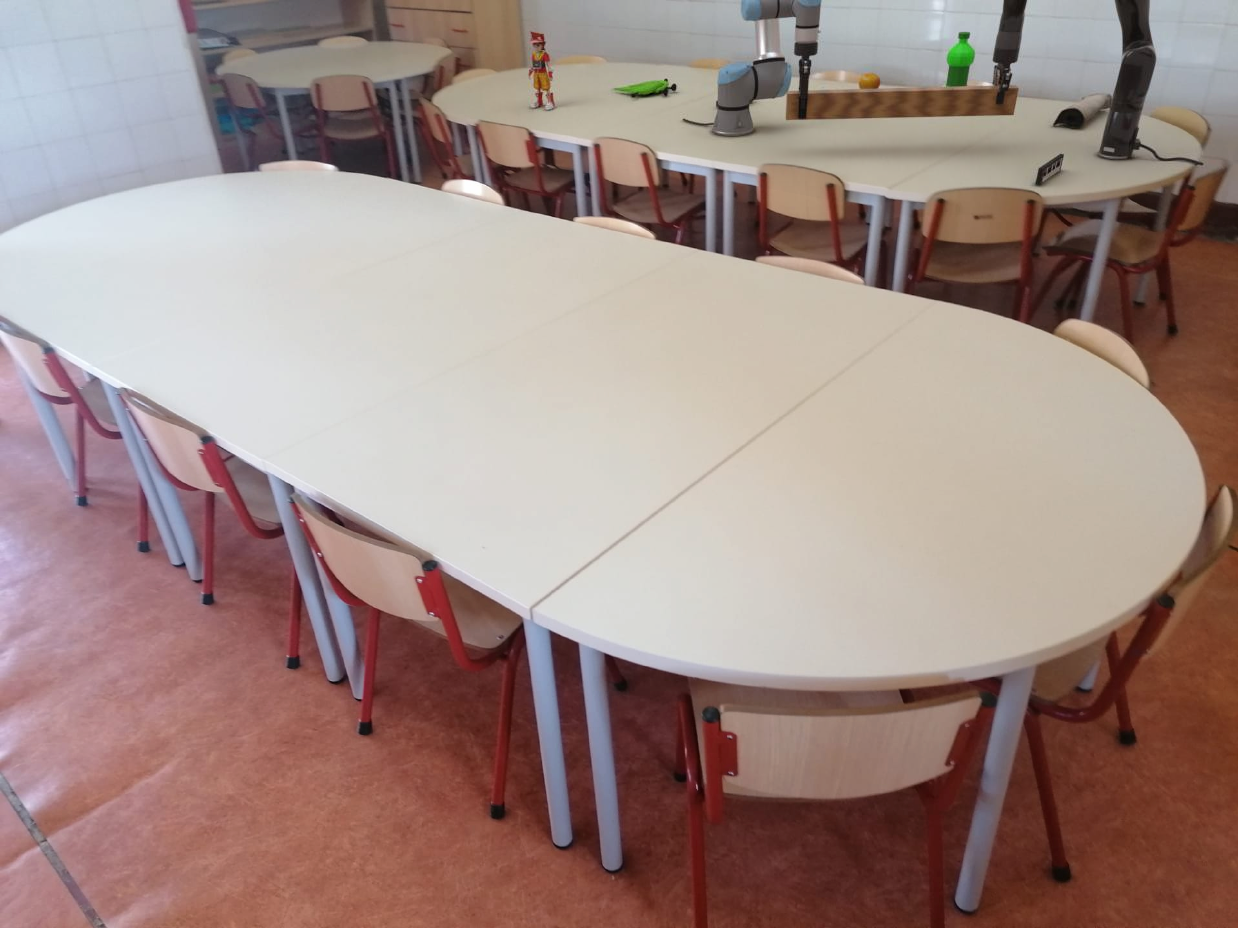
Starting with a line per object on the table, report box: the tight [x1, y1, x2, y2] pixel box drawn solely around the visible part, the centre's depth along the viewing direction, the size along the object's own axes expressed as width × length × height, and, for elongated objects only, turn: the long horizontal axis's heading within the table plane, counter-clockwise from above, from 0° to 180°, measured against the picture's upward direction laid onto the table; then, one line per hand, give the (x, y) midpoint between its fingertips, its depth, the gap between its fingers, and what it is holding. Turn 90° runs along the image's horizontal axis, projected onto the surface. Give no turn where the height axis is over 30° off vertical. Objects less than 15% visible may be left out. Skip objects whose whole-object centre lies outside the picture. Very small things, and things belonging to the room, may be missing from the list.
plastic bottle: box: [944, 31, 976, 87], centre depth 348 cm, size 10×10×25 cm
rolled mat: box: [1052, 92, 1113, 129], centre depth 324 cm, size 30×9×10 cm
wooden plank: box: [785, 84, 1020, 121], centre depth 298 cm, size 74×4×8 cm, turn 83°
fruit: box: [858, 72, 881, 89], centre depth 374 cm, size 8×8×8 cm
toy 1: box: [527, 31, 556, 111], centre depth 374 cm, size 12×9×30 cm
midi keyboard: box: [1035, 153, 1065, 186], centre depth 273 cm, size 18×1×5 cm, turn 138°
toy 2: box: [612, 78, 677, 99], centre depth 396 cm, size 28×5×30 cm
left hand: (801, 116), depth 303 cm, fingers closed on wooden plank, 4 cm apart
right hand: (997, 102), depth 294 cm, fingers closed on wooden plank, 4 cm apart
